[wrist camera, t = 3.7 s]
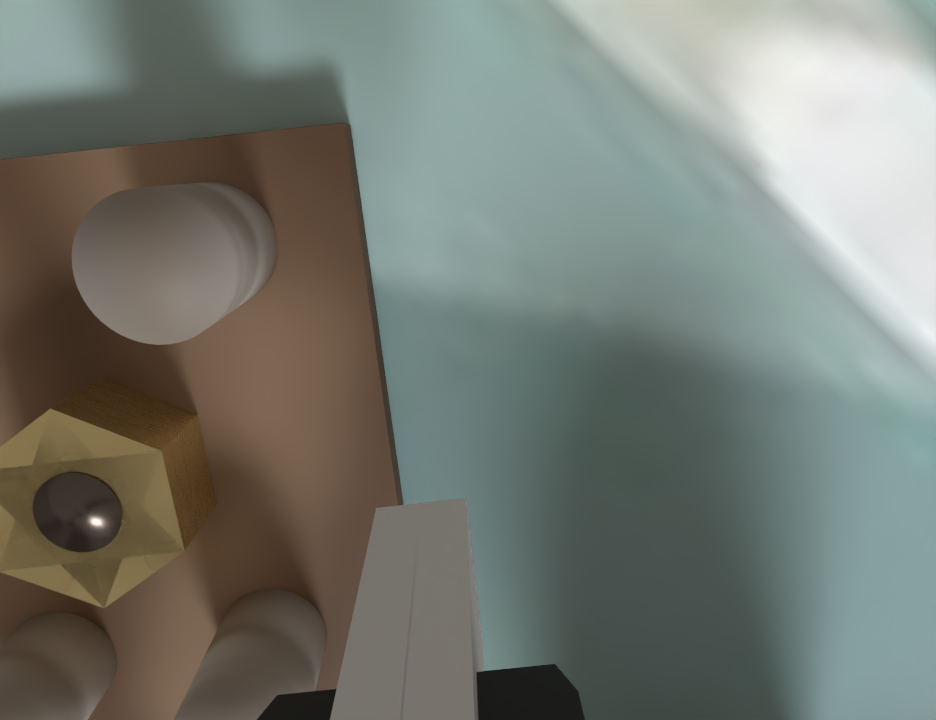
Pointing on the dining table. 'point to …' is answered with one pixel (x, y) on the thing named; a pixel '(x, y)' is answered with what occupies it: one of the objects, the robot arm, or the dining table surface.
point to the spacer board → (203, 411)
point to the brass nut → (102, 492)
